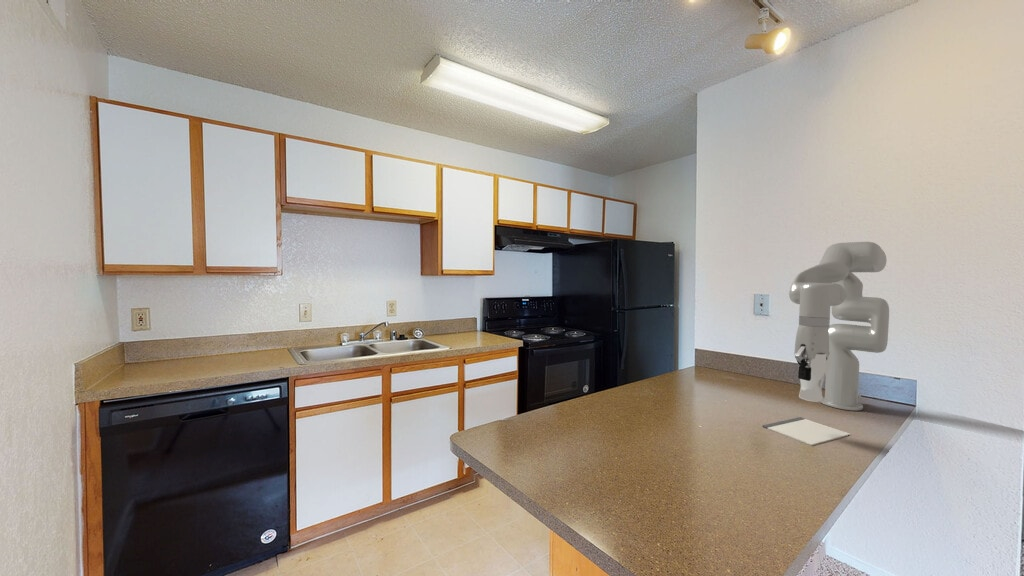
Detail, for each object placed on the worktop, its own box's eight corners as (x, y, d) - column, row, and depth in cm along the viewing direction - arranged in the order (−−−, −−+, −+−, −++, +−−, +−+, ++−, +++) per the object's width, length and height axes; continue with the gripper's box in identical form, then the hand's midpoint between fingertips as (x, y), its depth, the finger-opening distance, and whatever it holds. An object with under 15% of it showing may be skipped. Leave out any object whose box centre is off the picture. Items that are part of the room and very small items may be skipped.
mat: (800, 418, 129) (800, 417, 129) (850, 435, 116) (850, 433, 116) (762, 426, 122) (762, 425, 122) (811, 445, 108) (811, 444, 108)
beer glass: (814, 396, 120) (816, 350, 120) (830, 403, 114) (832, 355, 113) (791, 394, 121) (793, 349, 121) (806, 402, 114) (808, 354, 114)
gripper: (816, 320, 123) (814, 373, 124) (783, 322, 117) (781, 378, 117) (844, 323, 116) (841, 379, 117) (810, 325, 110) (808, 384, 110)
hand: (811, 378), depth 117 cm, fingers closed on beer glass, 6 cm apart
